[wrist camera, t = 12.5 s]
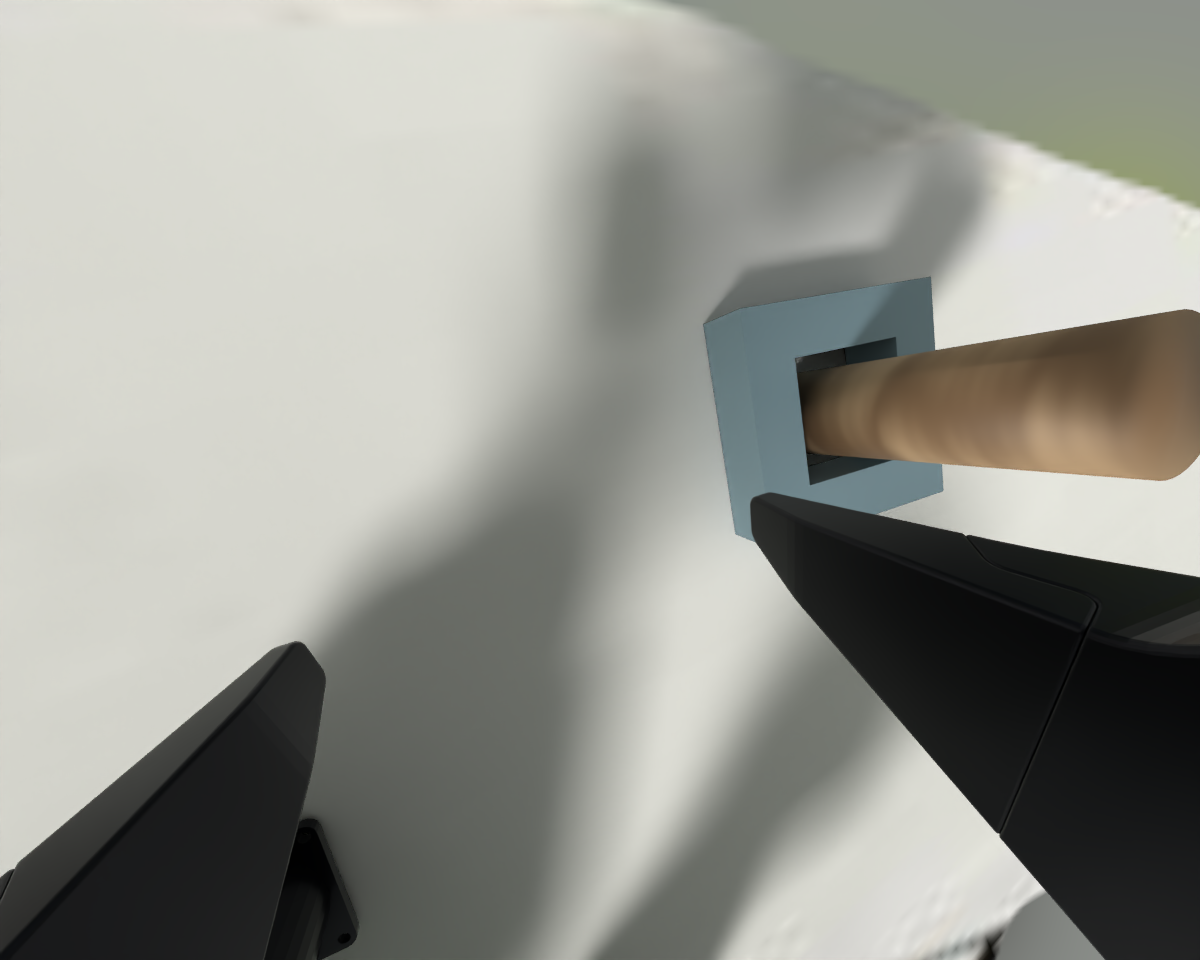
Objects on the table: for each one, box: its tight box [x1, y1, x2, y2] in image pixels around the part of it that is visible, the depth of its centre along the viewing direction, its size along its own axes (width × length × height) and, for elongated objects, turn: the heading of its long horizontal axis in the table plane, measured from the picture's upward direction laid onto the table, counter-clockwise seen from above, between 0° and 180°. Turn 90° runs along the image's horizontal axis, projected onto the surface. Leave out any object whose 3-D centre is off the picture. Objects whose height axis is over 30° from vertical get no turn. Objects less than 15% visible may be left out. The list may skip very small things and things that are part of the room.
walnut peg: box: [797, 309, 1200, 481], centre depth 17 cm, size 4×4×13 cm
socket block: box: [703, 277, 943, 542], centre depth 22 cm, size 11×11×3 cm
